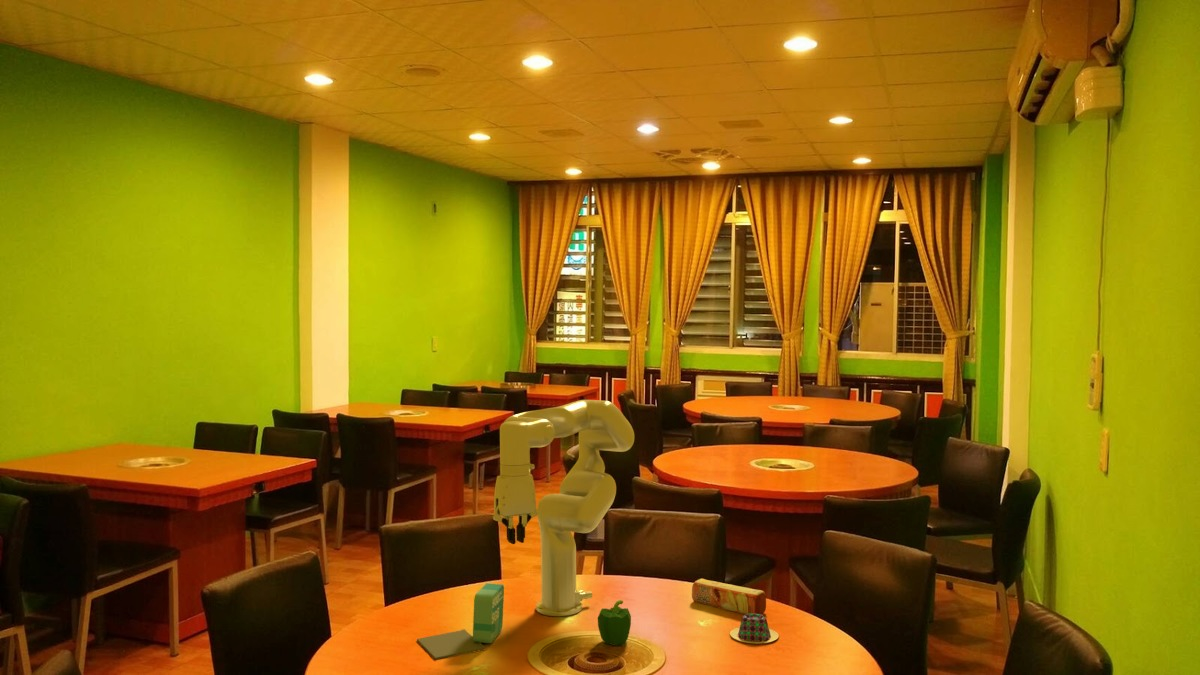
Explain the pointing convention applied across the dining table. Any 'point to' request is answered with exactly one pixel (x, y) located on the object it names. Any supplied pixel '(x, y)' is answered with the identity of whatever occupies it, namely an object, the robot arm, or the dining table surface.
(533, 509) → the robot arm
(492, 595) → the teal square box
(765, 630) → the pudding
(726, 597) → the snack package
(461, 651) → the mat
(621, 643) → the bell pepper
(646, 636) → the dining table surface
